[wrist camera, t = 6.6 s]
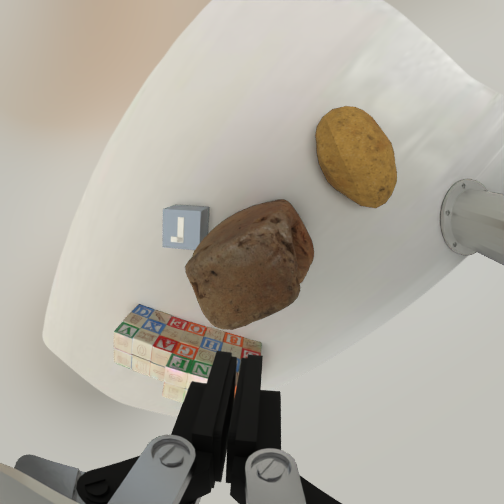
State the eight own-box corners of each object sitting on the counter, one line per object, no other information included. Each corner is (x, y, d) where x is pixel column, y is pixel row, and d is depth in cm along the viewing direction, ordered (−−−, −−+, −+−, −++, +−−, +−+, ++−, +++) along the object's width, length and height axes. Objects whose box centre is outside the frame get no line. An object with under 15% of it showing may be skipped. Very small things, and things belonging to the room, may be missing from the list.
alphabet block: (209, 206, 39) (200, 211, 34) (207, 241, 41) (198, 250, 36) (175, 204, 40) (162, 209, 35) (174, 238, 41) (162, 247, 36)
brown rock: (238, 267, 41) (212, 345, 22) (214, 221, 40) (164, 265, 21) (307, 237, 40) (340, 294, 20) (285, 187, 38) (301, 200, 19)
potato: (349, 227, 30) (421, 198, 27) (299, 113, 27) (375, 87, 25) (338, 216, 39) (396, 193, 36) (300, 128, 36) (359, 106, 34)
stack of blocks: (135, 332, 46) (103, 373, 34) (138, 302, 44) (103, 340, 32) (252, 369, 46) (246, 421, 34) (262, 341, 45) (259, 392, 33)
